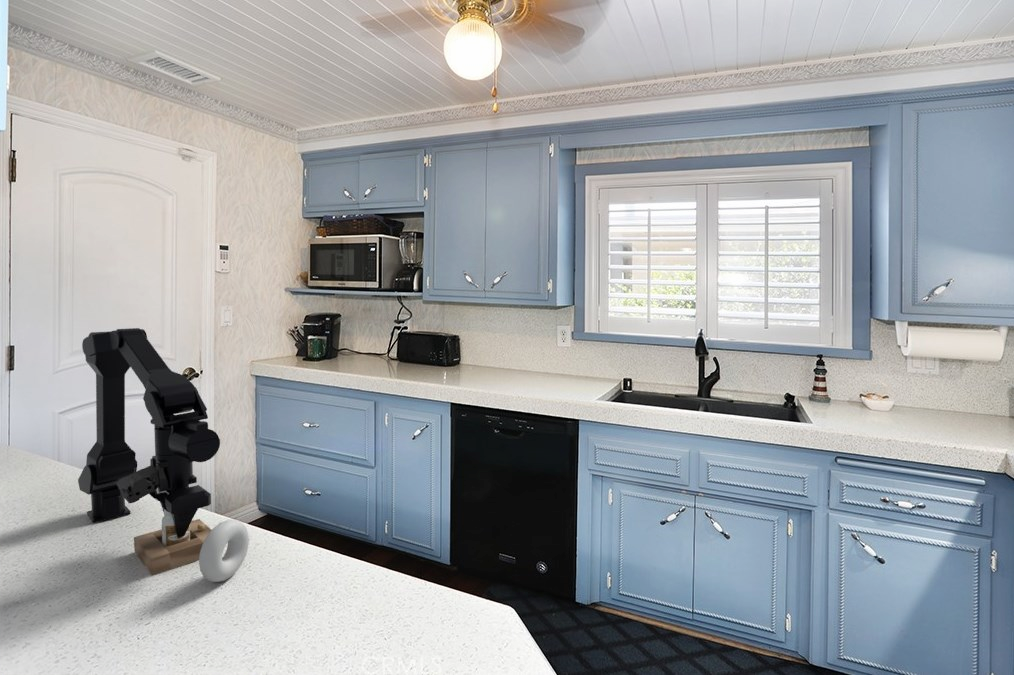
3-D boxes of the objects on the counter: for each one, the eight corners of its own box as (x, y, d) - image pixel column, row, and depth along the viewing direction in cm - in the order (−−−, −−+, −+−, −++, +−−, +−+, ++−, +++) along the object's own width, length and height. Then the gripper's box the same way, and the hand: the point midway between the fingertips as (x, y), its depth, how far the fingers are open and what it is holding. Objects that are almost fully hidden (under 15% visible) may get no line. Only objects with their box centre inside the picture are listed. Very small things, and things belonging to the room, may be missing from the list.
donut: (213, 595, 86) (211, 536, 85) (194, 592, 87) (192, 534, 86) (254, 564, 96) (252, 511, 95) (237, 562, 97) (235, 508, 96)
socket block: (134, 552, 99) (133, 531, 99) (199, 533, 107) (199, 514, 107) (151, 575, 92) (150, 553, 91) (220, 552, 100) (219, 532, 99)
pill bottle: (167, 552, 96) (166, 511, 95) (158, 544, 99) (157, 504, 98) (194, 543, 100) (193, 504, 99) (184, 535, 102) (183, 497, 101)
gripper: (107, 448, 98) (111, 529, 99) (135, 474, 85) (139, 567, 87) (176, 436, 106) (178, 512, 107) (211, 459, 93) (213, 544, 95)
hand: (176, 532), depth 99 cm, fingers closed on pill bottle, 4 cm apart
